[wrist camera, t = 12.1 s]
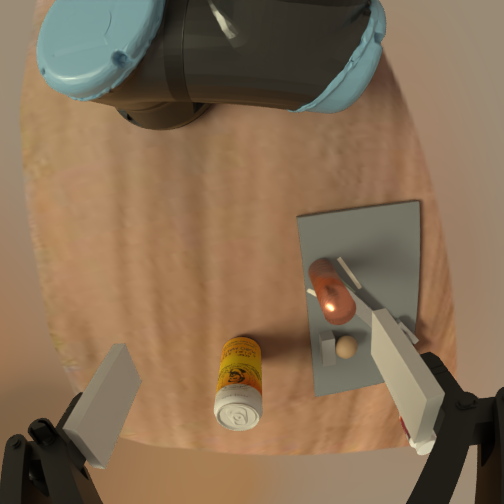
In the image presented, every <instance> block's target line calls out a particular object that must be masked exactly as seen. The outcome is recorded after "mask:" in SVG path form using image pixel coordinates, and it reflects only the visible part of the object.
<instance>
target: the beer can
mask: <svg viewBox="0 0 504 504" xmlns="http://www.w3.org/2000/svg"><path fill="white" fill-rule="evenodd" d="M214 413H215V415H216V418H217V421H218V422H219V424H221V425H222V426H223V427H225V428H227V429H230V430H235V431H243V430H248V429H251V428H253V427H254V426H256V425H257V423H258V422H259V419H260V418H261V416H262V370H261V349H260V347H259V345H258V344H257V343H256V342H255V341H253V340H252V339H249V338H246V337H237V338H233V339H231V340H229V341H228V342H227V343H226V344H225V345H224V347H223V351H222V357H221V364H220V371H219V378H218V384H217V391H216V398H215V405H214Z"/></svg>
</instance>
